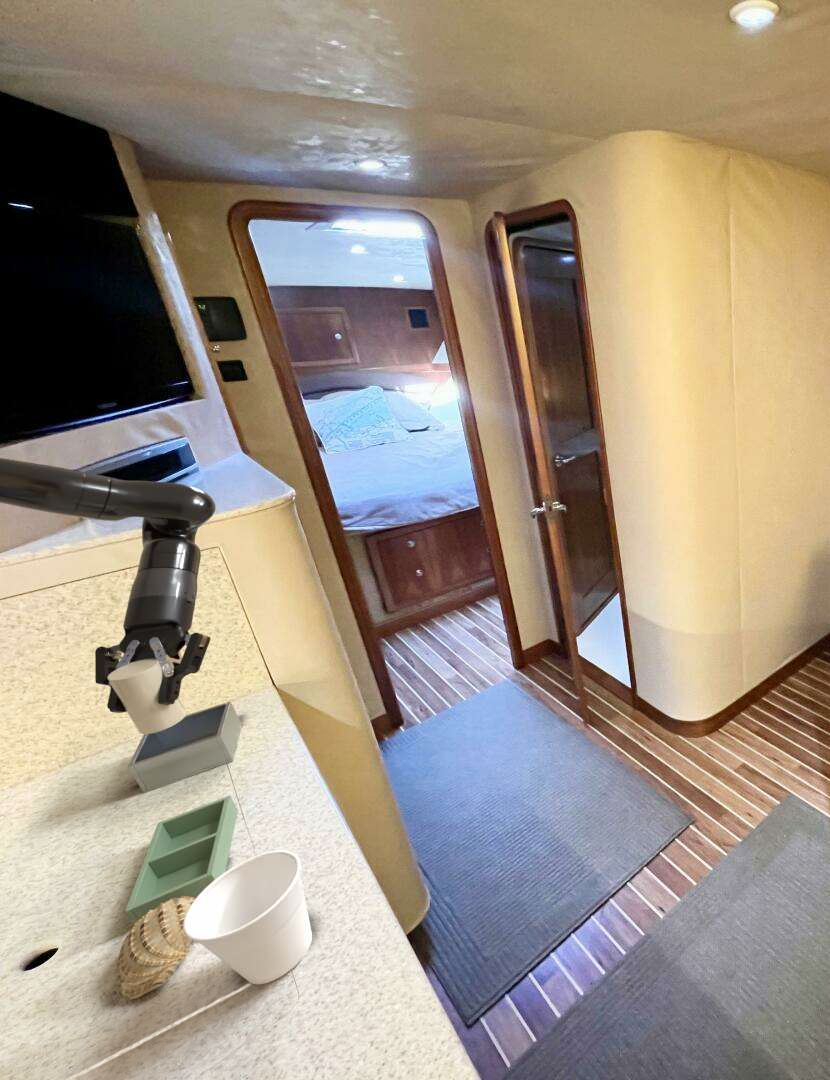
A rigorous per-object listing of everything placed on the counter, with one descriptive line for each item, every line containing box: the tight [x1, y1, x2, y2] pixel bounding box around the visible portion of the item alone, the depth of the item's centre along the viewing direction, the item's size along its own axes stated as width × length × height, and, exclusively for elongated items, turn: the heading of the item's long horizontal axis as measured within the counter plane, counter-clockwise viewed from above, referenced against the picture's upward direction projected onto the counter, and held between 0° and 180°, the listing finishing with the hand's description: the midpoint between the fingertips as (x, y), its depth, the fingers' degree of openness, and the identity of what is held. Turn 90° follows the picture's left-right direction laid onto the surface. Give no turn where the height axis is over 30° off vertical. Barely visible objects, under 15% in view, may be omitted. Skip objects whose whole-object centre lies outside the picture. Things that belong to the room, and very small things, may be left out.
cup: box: [183, 849, 313, 985], centre depth 59 cm, size 10×10×11 cm
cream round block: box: [107, 658, 187, 735], centre depth 81 cm, size 5×5×10 cm
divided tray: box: [124, 795, 239, 926], centre depth 72 cm, size 8×15×4 cm, turn 34°
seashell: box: [116, 896, 196, 1002], centre depth 61 cm, size 8×6×10 cm
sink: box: [127, 701, 243, 794], centre depth 92 cm, size 11×11×6 cm
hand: (142, 707), depth 80 cm, fingers closed on cream round block, 5 cm apart
